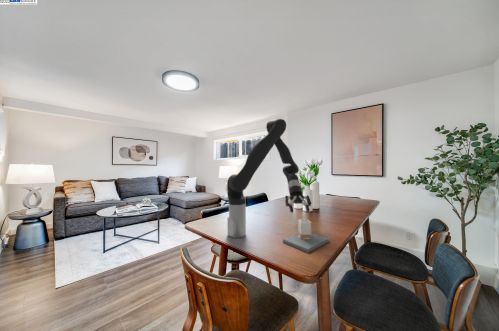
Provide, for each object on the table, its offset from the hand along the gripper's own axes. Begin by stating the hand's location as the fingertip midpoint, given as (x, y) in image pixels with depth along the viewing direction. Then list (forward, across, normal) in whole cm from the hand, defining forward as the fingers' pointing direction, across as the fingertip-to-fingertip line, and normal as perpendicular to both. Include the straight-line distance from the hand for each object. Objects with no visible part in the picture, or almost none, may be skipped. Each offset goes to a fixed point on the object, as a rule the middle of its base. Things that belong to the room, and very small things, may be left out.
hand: (300, 212), depth 100 cm
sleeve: (+13, 0, +2) cm, 13 cm away
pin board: (+16, 0, +1) cm, 16 cm away
